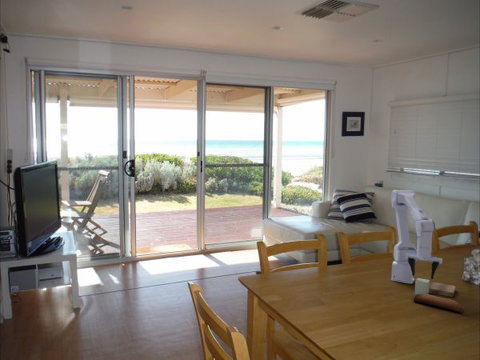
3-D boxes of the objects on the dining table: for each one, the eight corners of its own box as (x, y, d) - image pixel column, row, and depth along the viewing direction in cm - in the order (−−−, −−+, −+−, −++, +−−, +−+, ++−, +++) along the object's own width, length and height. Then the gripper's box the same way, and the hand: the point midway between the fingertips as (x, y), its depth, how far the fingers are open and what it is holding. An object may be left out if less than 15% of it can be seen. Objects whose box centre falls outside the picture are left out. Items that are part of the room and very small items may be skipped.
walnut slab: (427, 292, 184) (428, 288, 184) (431, 285, 193) (431, 281, 192) (452, 297, 179) (453, 292, 179) (455, 290, 187) (455, 286, 187)
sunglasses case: (465, 307, 168) (464, 296, 164) (461, 320, 163) (460, 309, 160) (419, 296, 179) (417, 285, 176) (414, 308, 175) (412, 297, 172)
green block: (414, 294, 182) (415, 281, 182) (416, 290, 186) (417, 277, 186) (426, 296, 179) (427, 283, 179) (428, 293, 184) (429, 280, 183)
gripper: (404, 246, 181) (403, 276, 183) (441, 251, 174) (439, 282, 175) (408, 242, 187) (406, 272, 189) (443, 247, 180) (441, 278, 181)
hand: (422, 276), depth 182 cm, fingers open, 7 cm apart
